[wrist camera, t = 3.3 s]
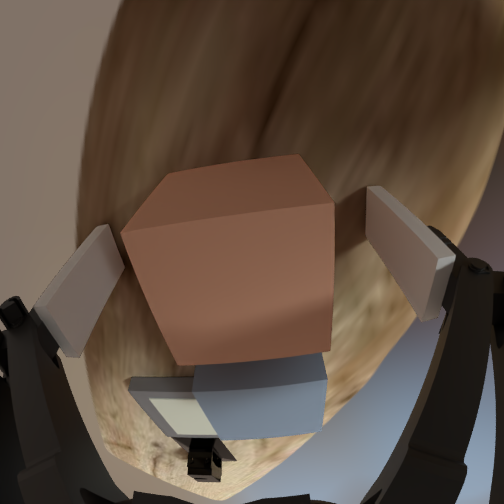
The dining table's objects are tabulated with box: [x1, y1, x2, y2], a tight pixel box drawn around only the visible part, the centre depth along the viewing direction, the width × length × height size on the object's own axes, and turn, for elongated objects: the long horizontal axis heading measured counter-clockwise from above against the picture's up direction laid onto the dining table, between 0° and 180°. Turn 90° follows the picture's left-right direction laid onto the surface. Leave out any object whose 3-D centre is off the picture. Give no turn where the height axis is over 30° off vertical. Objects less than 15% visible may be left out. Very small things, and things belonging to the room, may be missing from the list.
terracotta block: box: [120, 154, 335, 366], centre depth 12 cm, size 6×6×6 cm
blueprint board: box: [128, 377, 219, 438], centre depth 22 cm, size 10×9×2 cm
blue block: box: [192, 352, 328, 440], centre depth 16 cm, size 6×6×6 cm
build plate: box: [171, 437, 237, 482], centre depth 28 cm, size 12×7×5 cm, turn 11°
